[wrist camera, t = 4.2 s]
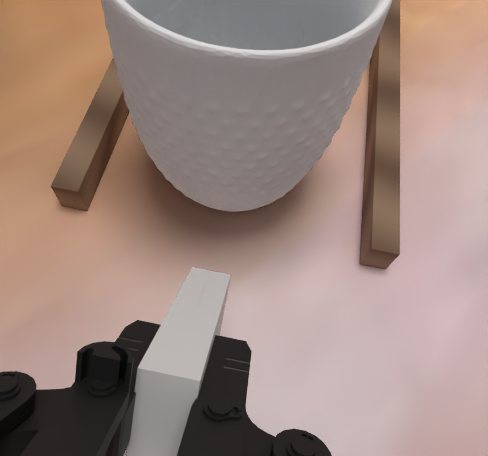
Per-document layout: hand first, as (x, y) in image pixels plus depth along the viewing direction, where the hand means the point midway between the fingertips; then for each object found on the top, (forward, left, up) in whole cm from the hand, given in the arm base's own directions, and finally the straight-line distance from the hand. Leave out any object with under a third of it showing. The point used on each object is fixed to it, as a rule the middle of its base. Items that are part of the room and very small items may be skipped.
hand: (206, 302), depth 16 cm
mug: (-9, +8, -6) cm, 13 cm away
